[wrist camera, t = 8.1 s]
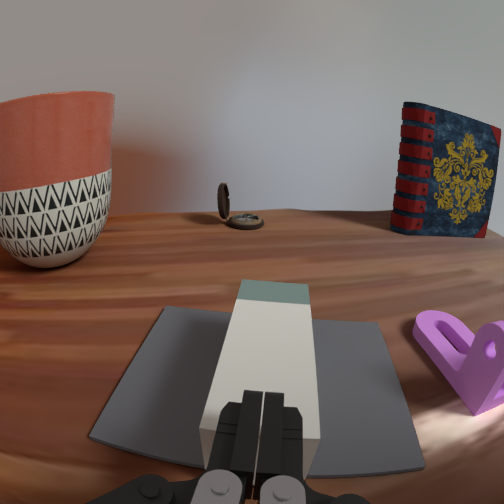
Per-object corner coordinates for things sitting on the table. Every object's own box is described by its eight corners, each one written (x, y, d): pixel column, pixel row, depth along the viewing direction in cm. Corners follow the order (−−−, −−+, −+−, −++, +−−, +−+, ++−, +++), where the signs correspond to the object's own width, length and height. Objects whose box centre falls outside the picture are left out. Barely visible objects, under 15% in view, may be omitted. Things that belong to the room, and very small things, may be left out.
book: (399, 235, 55) (414, 100, 45) (382, 224, 61) (395, 101, 52) (486, 239, 57) (503, 129, 48) (468, 228, 63) (483, 126, 54)
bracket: (514, 398, 17) (552, 328, 15) (473, 417, 17) (516, 342, 14) (443, 319, 29) (462, 259, 27) (402, 324, 29) (420, 259, 26)
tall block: (302, 487, 13) (300, 337, 26) (320, 438, 11) (307, 284, 24) (206, 478, 14) (241, 332, 27) (199, 427, 12) (242, 279, 25)
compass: (262, 232, 53) (265, 188, 50) (215, 228, 54) (215, 185, 51) (265, 218, 60) (267, 180, 58) (224, 216, 61) (224, 178, 58)
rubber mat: (376, 325, 28) (377, 322, 28) (422, 469, 14) (425, 466, 13) (166, 309, 30) (166, 305, 30) (90, 439, 15) (88, 435, 15)
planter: (45, 309, 28) (18, 92, 19) (-23, 271, 33) (-43, 123, 25) (148, 246, 45) (144, 94, 37) (65, 230, 50) (57, 110, 42)
